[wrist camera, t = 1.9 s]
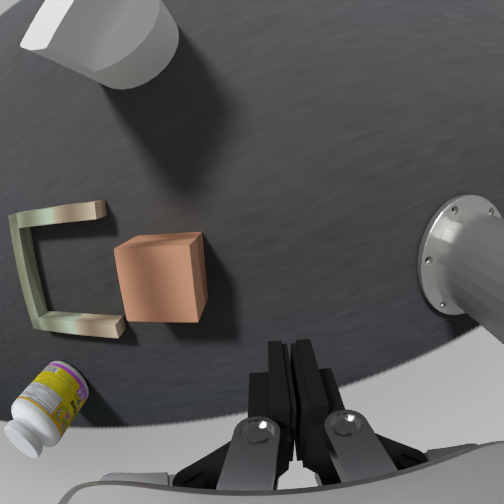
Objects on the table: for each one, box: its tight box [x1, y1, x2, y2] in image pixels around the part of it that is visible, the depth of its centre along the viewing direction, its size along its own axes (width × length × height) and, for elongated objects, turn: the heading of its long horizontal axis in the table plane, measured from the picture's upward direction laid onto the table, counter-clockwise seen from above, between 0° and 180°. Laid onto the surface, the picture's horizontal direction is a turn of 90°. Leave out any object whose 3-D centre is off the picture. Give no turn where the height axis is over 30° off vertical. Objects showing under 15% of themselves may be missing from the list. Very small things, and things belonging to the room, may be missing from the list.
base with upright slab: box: [20, 0, 179, 90], centre depth 15 cm, size 9×9×12 cm
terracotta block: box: [114, 232, 208, 322], centre depth 24 cm, size 6×6×5 cm
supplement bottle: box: [4, 361, 89, 458], centre depth 24 cm, size 7×7×13 cm
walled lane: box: [9, 200, 126, 338], centre depth 26 cm, size 12×13×2 cm
